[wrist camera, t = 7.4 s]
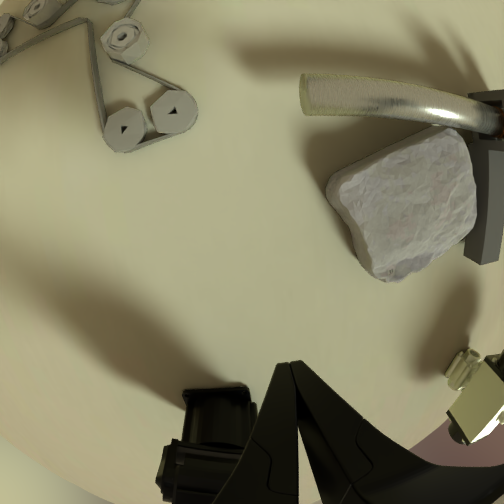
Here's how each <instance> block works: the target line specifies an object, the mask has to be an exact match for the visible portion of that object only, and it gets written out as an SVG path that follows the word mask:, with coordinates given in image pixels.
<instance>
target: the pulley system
mask: <svg viewBox="0 0 504 504" xmlns="http://www.w3.org/2000/svg"><path fill="white" fill-rule="evenodd" d="M76 1H77V0H68V1H67V2H66V3H65V4H64V5H63V6H62V5H61V3H60V2H59V1H57V0H32V1H31V2H30V3H29V4H28V6H27V7H26V8H25V10H24V14H23V17H24V18H25V19H26V20H27V21H28V22H30V23H28V22H26V21H24V20H21V19H19V18H17V17H14V16H12V15H10V14H9V13H4V14H3V15H2V16H1V17H0V64H1V63H3V62H4V61H6V60H7V59H9V58H11V57H12V56H14V55H16V54H17V53H19V52H21V51H23V50H25V49H26V48H28V47H30V46H32V45H34V44H36V43H38V42H40V41H42V40H44V39H46V38H48V37H50V36H52V35H54V34H57V33H59V32H61V31H63V30H66V29H68V28H71V27H73V26H76V25H78V24H81V23H83V22H86V21H87V22H88V37H89V48H90V58H91V66H92V74H93V81H94V88H95V94H96V100H97V105H98V111H99V116H100V121H101V126H102V131H103V139H104V140H105V142H106V144H107V145H108V146H109V147H110V148H111V149H112V150H113V151H114V152H124V153H128V152H132V151H135V150H138V149H140V148H143V147H145V146H148V145H150V144H153V143H156V142H158V141H161V140H164V139H167V138H169V137H172V136H175V135H178V134H181V133H184V132H186V131H187V130H189V129H190V128H191V127H192V126H193V125H194V124H195V122H196V119H197V116H198V107H197V104H196V101H195V99H194V98H193V97H192V96H191V95H190V94H189V93H188V92H187V91H183V90H181V89H179V88H177V87H175V86H173V85H171V84H169V83H167V82H164V81H162V80H160V79H158V78H156V77H153V76H151V75H149V74H147V73H144V72H142V71H140V70H137V69H135V68H132V67H130V66H128V65H130V64H131V63H133V62H135V61H136V60H138V59H140V58H141V57H143V55H144V54H145V52H146V50H147V48H148V46H149V44H150V43H149V38H148V36H147V35H146V33H145V31H144V28H143V26H142V24H141V23H140V22H138V21H137V20H134V19H131V18H130V16H131V15H132V13H133V12H134V10H135V8H136V7H137V5H138V4H139V2H140V1H141V0H136V1H135V2H134V4H133V5H132V7H131V8H130V10H129V11H128V13H127V14H126V16H125V17H124V19H121V20H119V21H116V22H114V23H113V24H112V25H111V26H110V27H109V29H108V30H107V31H106V32H105V33H104V34H103V35H102V37H101V38H100V39H101V43H102V46H103V48H104V51H105V52H107V53H108V54H109V56H110V58H111V60H112V62H114V63H116V64H119V65H121V66H123V67H126V68H128V69H130V70H132V71H135V72H137V73H139V74H141V75H143V76H146V77H148V78H150V79H152V80H154V81H156V82H158V83H160V84H162V85H164V86H166V87H168V88H170V89H172V90H168V91H166V92H165V93H164V94H163V95H162V96H161V97H160V98H159V99H158V100H157V101H155V102H154V103H153V104H152V105H151V106H150V110H151V115H152V120H153V125H154V127H155V129H156V130H157V132H159V133H166V134H168V135H165V136H161V137H158V138H155V139H152V140H149V141H146V142H143V140H144V138H145V135H146V132H147V126H146V122H145V120H144V117H143V115H142V113H141V111H140V110H137V109H134V108H131V107H128V106H126V107H124V108H123V109H121V110H119V111H117V112H116V113H114V114H112V115H110V116H109V117H108V119H107V116H106V111H105V106H104V101H103V96H102V91H101V85H100V79H99V73H98V66H97V60H96V52H95V44H94V35H93V25H92V22H91V21H90V20H89V19H88V18H80V17H79V18H76V19H74V20H71V21H69V22H67V23H64V24H62V25H60V26H57V27H55V28H53V29H51V30H49V31H47V32H44V33H42V34H40V35H38V36H37V37H35V38H33V39H31V40H29V41H27V42H25V43H23V44H22V45H20V46H18V47H16V48H15V49H13V50H11V51H10V52H8V53H7V54H6V52H7V50H8V43H7V41H3V40H2V38H4V37H6V35H7V34H8V33H9V31H10V30H11V29H12V27H13V24H14V21H15V18H16V19H18V20H20V21H23V22H25V23H27V24H30V25H32V26H34V27H36V28H38V29H44V28H46V27H49V26H50V25H51V24H52V23H53V22H55V21H56V19H57V18H58V17H59V16H60V15H61V14H63V13H64V12H65V11H66V10H67V9H68V8H69V7H70V6H71V5H73V4H74V3H75V2H76ZM97 1H98V2H104V3H107V4H110V5H115V4H118V3H120V2H123V1H125V0H97ZM31 23H32V24H31ZM33 24H34V25H33ZM125 64H126V65H125ZM175 109H176V111H177V113H178V114H172V113H173V112H174V110H175ZM169 133H171V134H169Z"/></svg>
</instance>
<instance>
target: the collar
mask: <svg viewBox="0 0 504 504" xmlns="http://www.w3.org/2000/svg"><path fill="white" fill-rule="evenodd" d="M467 95H468V98H469V99H473V100H476V101H479V102H482V103H484V104H487V105H490V106H496V107H498V108H503V112H504V90H493V91H484V92H476V93H468V94H467ZM472 136H473V144H469V155H470V160H471V163H472V174H473V177H474V181H475V184H476V208H477V217H476V221H475V224H474V227H473V228H472V230H470V232H469V233H468V234H467V235H466V240H465V248H464V256H466V257H467V258H469V259H471V260H472V261H474V262H476V263H478V264H479V265H483V264H487V263H491V262H495V261H498V260H499V254H500V248H501V242H502V235H503V227H504V141H497V138H495V137H492V136H491V135H488V134H484V133H480V132H476V131H472Z"/></svg>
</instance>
